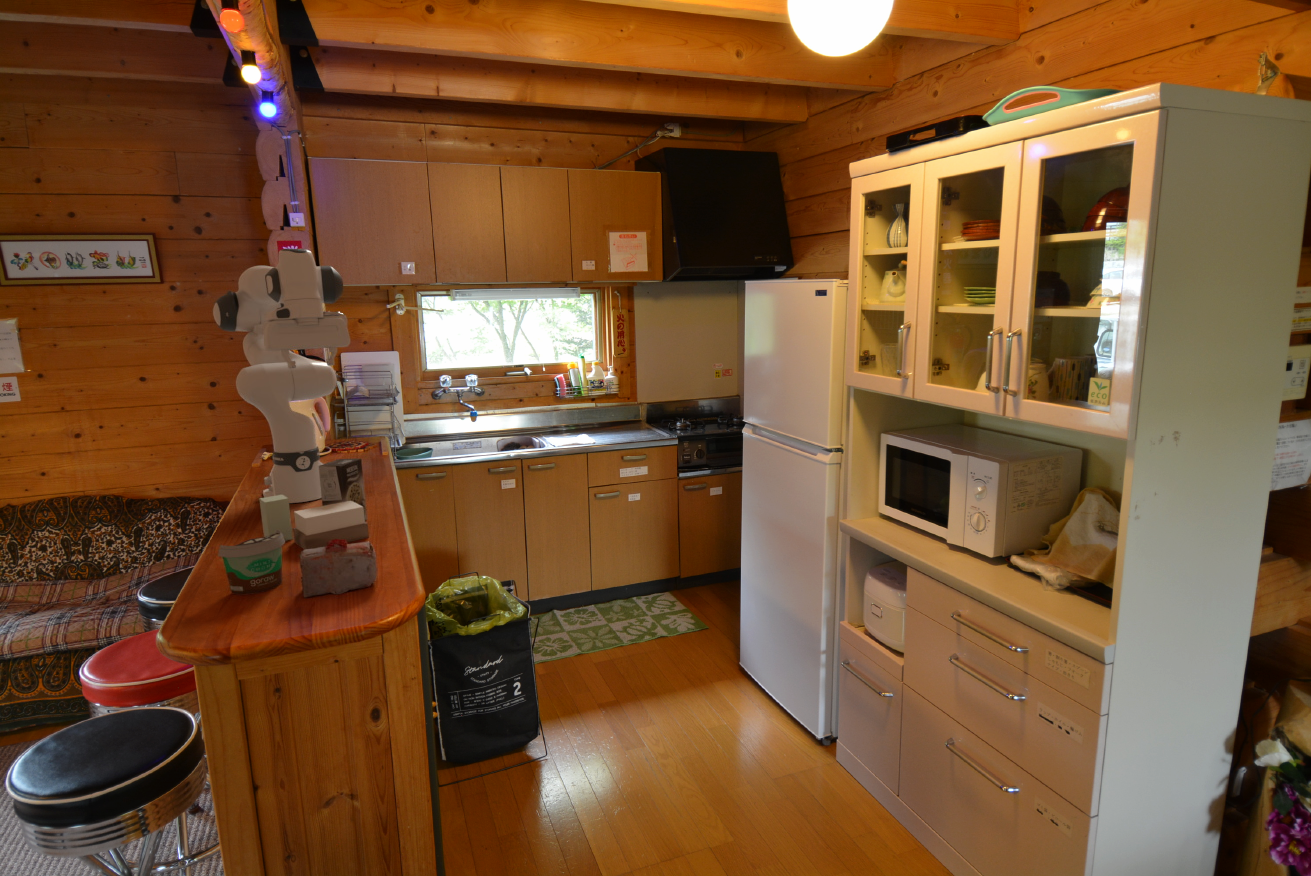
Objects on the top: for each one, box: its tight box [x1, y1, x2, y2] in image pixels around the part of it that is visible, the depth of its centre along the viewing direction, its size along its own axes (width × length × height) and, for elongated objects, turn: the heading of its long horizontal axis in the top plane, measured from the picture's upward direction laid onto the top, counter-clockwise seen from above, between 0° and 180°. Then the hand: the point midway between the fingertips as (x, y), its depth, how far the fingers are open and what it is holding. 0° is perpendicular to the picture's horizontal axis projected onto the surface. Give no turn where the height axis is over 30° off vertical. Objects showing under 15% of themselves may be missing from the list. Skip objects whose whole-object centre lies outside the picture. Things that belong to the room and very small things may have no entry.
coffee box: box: [319, 458, 368, 521], centre depth 186 cm, size 9×6×16 cm
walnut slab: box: [292, 521, 370, 551], centre depth 175 cm, size 9×14×4 cm, turn 131°
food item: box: [298, 539, 378, 599], centre depth 144 cm, size 14×8×10 cm, turn 115°
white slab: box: [293, 501, 366, 535], centre depth 174 cm, size 8×13×4 cm, turn 132°
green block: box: [258, 495, 294, 542], centre depth 176 cm, size 5×5×10 cm
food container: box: [217, 529, 286, 595], centre depth 145 cm, size 12×6×10 cm, turn 148°
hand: (311, 366), depth 191 cm, fingers open, 8 cm apart
